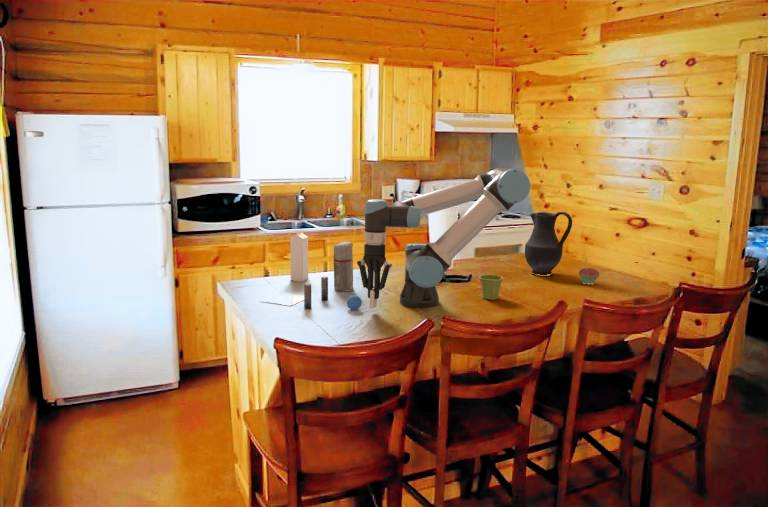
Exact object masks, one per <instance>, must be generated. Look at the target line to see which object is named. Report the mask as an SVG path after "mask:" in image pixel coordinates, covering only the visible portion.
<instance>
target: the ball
mask: <svg viewBox="0 0 768 507" xmlns="http://www.w3.org/2000/svg"><path fill="white" fill-rule="evenodd" d="M346 305H347V308H348V309H350V310H352V311H358V310H359V309H360V308H361V307H362V298H361V297H360V296H359V295H356V294H351V295H350V296H348V297H347V300H346Z"/></svg>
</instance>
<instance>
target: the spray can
mask: <svg viewBox="0 0 768 507" xmlns="http://www.w3.org/2000/svg"><path fill="white" fill-rule="evenodd" d="M353 247H354V244H353V243H352V242H351V241H347V240H345V241H344V240H342V241H340V242H339V243H337V244H334V246H333V284H334V285H333V288H334V291H337V292H349V291H353V290H354V260H353V259H354V258H353V257H354V256H353V255H354V254H353Z"/></svg>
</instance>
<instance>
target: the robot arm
mask: <svg viewBox="0 0 768 507" xmlns="http://www.w3.org/2000/svg"><path fill="white" fill-rule="evenodd" d="M530 190H531V182H530V178H529V176H528V175H527V173H526V172H524V171H523V170H521V169H519V168H517V167H511V166H499V167H497V168H494V169H492V170H488V171H486V172H484V173H481V174H478V175H476V177H475V178H474V179H470V180H468V181H464V182H463V181H462V182H460V183H458V184H454V185H450V186H447V187H443V188H442V189H438V190H434V191H431V192H428V193H425V194H424V193H423V194H420V195H418V196H414V197H411V198H408V199H404V200H396V201H395V202H393V204H392V205H388V202H387V200H385V199H379V198H378V199H377V198H376V199H375V198H374V199H373V198H371V199H368V200H366V201H365V207H364V208H365V210H364V240H363V242H364V246H363V250H364V251H363V253H364V255H363V257H362V259H360V260H357V262H356V264H357V266H358V268H359V273H360V277H361V282H362V287H363V288H366V289H367V298H368V299H369V309H375V308H376V307H377V303H378V302H377V301H378V299H379V298H380V291H381V290H383V289H384V288H385V287H386V283H387V278H388V276H389V273H390V272H389V271H390V269H391V268H392V266H393V264H392V263H389V262H388V261H387V257H386V244H385V243H386V241H387V240H386V239H387V234H386V233H387V232H386V231H387V228H407V229H412V228H419V227H420V225H421V217H423V216H427V215H430V214H432V213H436V212H441V211H443V210H447V209H450V208H453V207H456V206H460V205H463V204H467V203H469V202H473V201H475V202H474V203H473V204H472V205H471V206H470V207H469V208H468V209H467V210H466V211H465V212H464V213H462V215H461V216H460V217H459V218H458V219H457V220H456V221H455V222H453V224H452V225H451V226H450V227H449V228H448V229H447V230H445V231H444V233H443V234H442V235H441V236H440V237H439V238H437V239H436V241H434V242H427V243H408V244H406V246H405V249H404V254H405V256H404V257H405V258H404V284H403V286H402V290H401V292H400V295H399V303H400V304H401V305H403V306H406V307H409V308H419V309H422V308H432V307H436V306H437V305H439V303H440V296H439V293H438V289H437V285H438V284H439V283H440V282H441V280H442V279H443V277H444V273H445V272H446V271H448V270H449V269H450V268H451V267H452V260H453V259H454V258H455V257H456V256H457V255H458V254H459V253H460V252H461V251H462V250H463V249H464V248H465V247H467V245H468V244H469V243H470V242H471V241H472V240H474V238H475V237H476V236H477V235H478V234H480V232H481V231H482V230H483V229H484V228H485V227H486V226H488V225H489V224H490V223H491V222H492V221H493V220H494V219H495V218H496V217H497V216H498V215H499V214H500V213H505V212H506V213H507V212H508V211H509V210H510V209H511V208H512V207H513V206H514V205H515V204H519V203H521V202H523V201H524V200H525V199H526V198H528V195H529V193H530ZM382 267H383V271H382V274H381V270H382ZM366 268H367V269H366Z"/></svg>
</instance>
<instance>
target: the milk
mask: <svg viewBox="0 0 768 507" xmlns="http://www.w3.org/2000/svg"><path fill="white" fill-rule="evenodd" d="M289 241H290V242H289V245H290V246H289V249H290V250H289V251H290V252H289V254H290V256H289V258H290V260H289V261H290V263H289V264H290V281H291V280H294V281H295V282H302V281H303V282H305V281H307V280H308V279H309V236H308V235H306V234H305V233H303V229H302V228H300V229H298V230H296V233H295V235H294V236H291V237H290V238H289ZM294 281H293V282H294Z"/></svg>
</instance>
